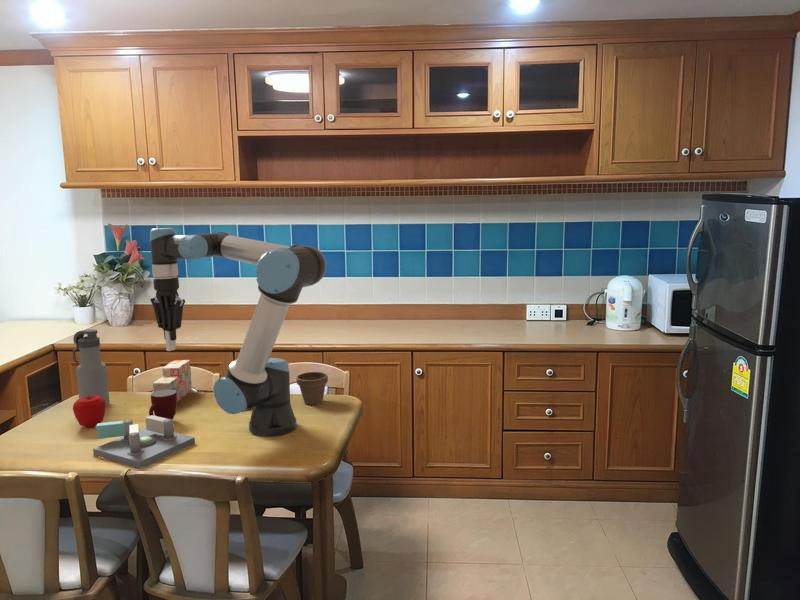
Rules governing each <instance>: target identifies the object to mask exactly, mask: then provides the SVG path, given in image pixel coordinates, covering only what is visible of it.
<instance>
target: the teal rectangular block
mask: <svg viewBox="0 0 800 600" xmlns="http://www.w3.org/2000/svg"><path fill="white" fill-rule="evenodd" d="M129 425H134V422H133V419H127V420H118V421H108V422H106V421H105V422H101V423H97V425H96V427H95V428H96V438H97V440H99V439H100V440H101V439H109V438H110V439H111V438H117V437H119V438H121V437H124V439H125V440H129V434H130V433H129Z"/></svg>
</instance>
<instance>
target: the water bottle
mask: <svg viewBox="0 0 800 600" xmlns="http://www.w3.org/2000/svg"><path fill="white" fill-rule="evenodd" d="M97 334H98V329H92V328H91V329H89V328H88V329H83V330H79V331H77V332H76V333H75V334H74V335H73V339H72V340H73V344H75V346H76V347H75V348H74V349H73V350H72V360H73V362H74V363H76V364H78V363H79V365H77V367H76V372H75V373H76V380H77V392H78V399H79V398H82V397H85V396H90V395H100V396H101V397H103V398H104V400H105V403H106V407H107V406H108V405H109V404H110V391H109V378H108V369H107V368H108V367H107V365H106V363H104V362H103V361H102V358H101V357H102V356H101V341H100V339H101V338H100V337H99V336H98V335H97ZM85 335H87V336H85ZM77 351H79V360H77V358H76V352H77Z"/></svg>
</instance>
